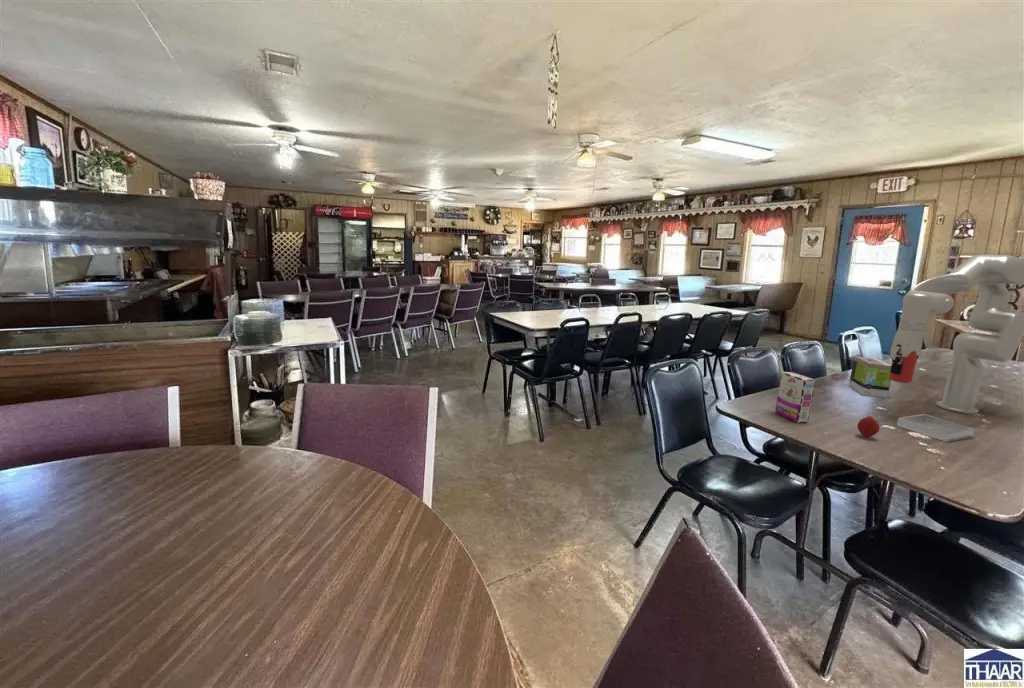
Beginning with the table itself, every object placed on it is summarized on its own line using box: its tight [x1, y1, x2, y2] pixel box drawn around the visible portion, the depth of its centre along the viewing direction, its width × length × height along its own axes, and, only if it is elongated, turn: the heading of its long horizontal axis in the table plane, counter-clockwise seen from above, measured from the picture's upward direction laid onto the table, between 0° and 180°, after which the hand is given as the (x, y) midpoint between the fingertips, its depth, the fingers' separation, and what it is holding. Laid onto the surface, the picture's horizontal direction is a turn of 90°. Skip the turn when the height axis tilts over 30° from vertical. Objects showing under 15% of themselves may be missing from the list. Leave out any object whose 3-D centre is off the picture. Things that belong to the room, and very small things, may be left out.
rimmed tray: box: [896, 413, 975, 443], centre depth 163 cm, size 15×15×3 cm
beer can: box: [889, 352, 918, 384], centre depth 172 cm, size 7×7×12 cm
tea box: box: [848, 356, 892, 399], centre depth 206 cm, size 15×10×15 cm, turn 164°
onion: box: [857, 414, 880, 438], centre depth 155 cm, size 6×6×8 cm
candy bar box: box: [774, 371, 817, 424], centre depth 170 cm, size 11×5×16 cm, turn 12°
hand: (901, 372), depth 173 cm, fingers closed on beer can, 6 cm apart
